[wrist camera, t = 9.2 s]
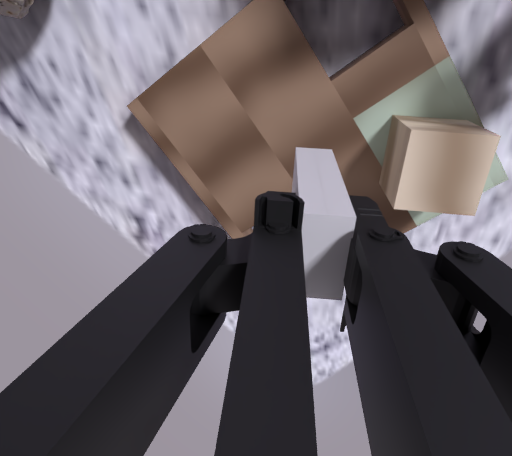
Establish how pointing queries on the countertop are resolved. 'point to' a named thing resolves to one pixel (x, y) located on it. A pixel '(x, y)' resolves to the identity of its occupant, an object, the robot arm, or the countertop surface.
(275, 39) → the wooden flat square board
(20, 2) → the rock
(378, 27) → the countertop surface
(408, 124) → the beech block
